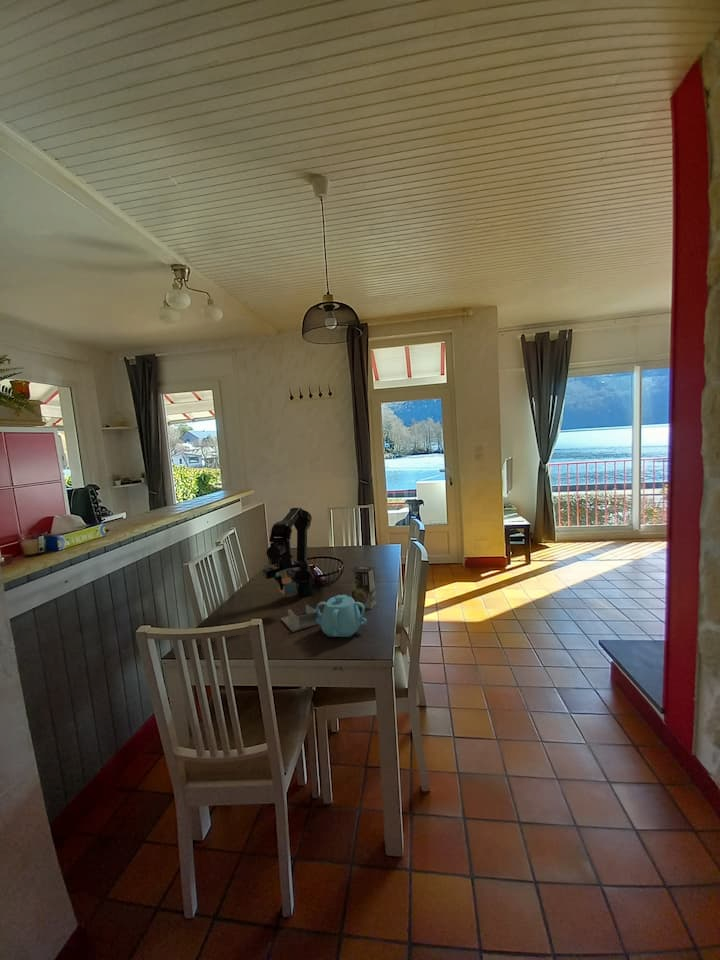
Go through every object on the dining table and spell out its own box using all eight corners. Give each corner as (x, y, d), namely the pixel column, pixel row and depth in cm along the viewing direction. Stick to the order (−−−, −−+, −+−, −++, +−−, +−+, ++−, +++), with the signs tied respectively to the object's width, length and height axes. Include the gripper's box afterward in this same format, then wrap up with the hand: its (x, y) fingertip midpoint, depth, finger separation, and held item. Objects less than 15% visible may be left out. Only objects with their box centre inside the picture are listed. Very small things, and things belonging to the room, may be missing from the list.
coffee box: (377, 603, 169) (374, 567, 167) (371, 609, 163) (368, 572, 162) (358, 601, 173) (355, 565, 171) (352, 606, 167) (349, 570, 165)
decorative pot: (371, 633, 142) (369, 597, 141) (331, 646, 134) (328, 608, 133) (351, 618, 156) (349, 585, 155) (314, 628, 149) (311, 594, 148)
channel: (315, 610, 166) (314, 599, 165) (328, 621, 155) (327, 608, 154) (281, 620, 158) (280, 608, 158) (292, 632, 147) (291, 619, 147)
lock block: (289, 587, 169) (288, 577, 168) (296, 591, 163) (295, 581, 163) (278, 590, 166) (277, 580, 166) (285, 595, 160) (284, 584, 160)
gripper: (296, 544, 175) (299, 577, 176) (255, 553, 164) (259, 589, 166) (307, 549, 165) (310, 584, 167) (265, 559, 155) (268, 596, 157)
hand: (287, 588), depth 164 cm, fingers closed on lock block, 5 cm apart
